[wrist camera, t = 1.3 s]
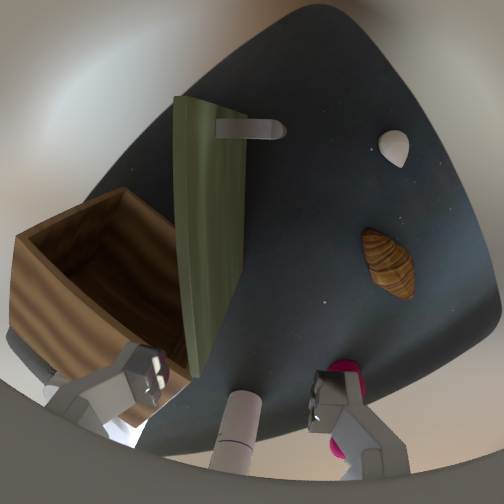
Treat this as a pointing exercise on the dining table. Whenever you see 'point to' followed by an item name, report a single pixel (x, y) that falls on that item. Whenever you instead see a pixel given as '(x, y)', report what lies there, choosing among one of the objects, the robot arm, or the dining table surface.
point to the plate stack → (114, 427)
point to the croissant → (389, 264)
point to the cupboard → (101, 290)
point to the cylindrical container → (237, 434)
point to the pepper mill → (353, 367)
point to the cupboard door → (210, 213)
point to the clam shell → (394, 147)
